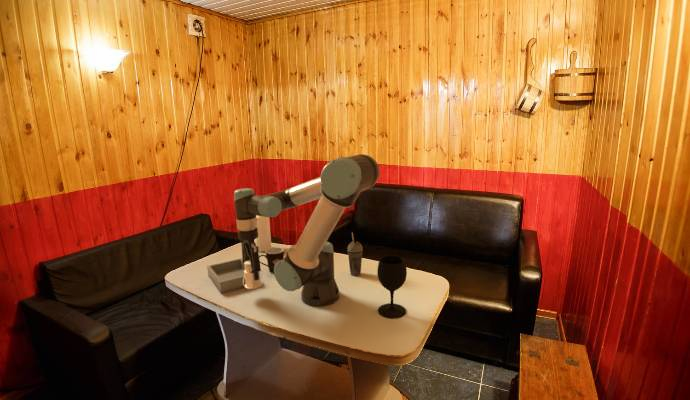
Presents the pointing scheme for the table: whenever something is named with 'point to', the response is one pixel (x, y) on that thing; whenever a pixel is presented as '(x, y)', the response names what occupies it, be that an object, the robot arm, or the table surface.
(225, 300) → the table surface
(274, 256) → the coffee mug
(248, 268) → the downlight
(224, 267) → the tote
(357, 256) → the beverage cup
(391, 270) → the wine glass
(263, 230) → the alcohol
